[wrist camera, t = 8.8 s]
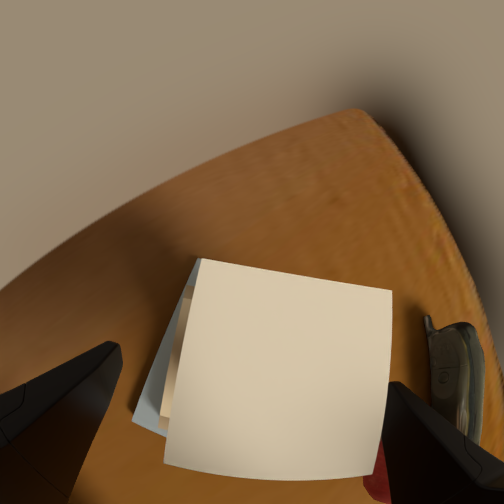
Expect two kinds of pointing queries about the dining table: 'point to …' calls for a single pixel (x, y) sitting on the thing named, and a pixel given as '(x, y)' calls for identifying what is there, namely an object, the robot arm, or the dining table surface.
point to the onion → (378, 479)
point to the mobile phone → (457, 376)
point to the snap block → (280, 376)
